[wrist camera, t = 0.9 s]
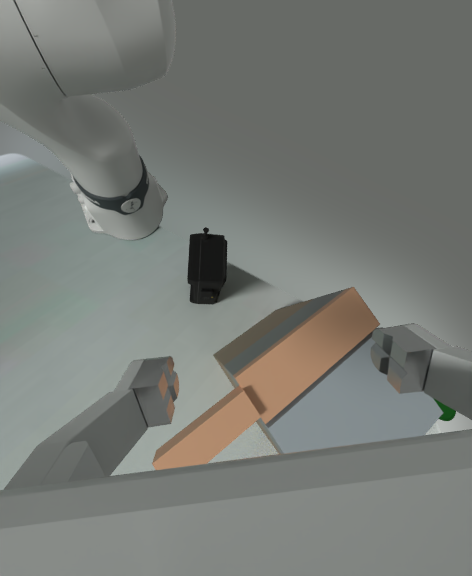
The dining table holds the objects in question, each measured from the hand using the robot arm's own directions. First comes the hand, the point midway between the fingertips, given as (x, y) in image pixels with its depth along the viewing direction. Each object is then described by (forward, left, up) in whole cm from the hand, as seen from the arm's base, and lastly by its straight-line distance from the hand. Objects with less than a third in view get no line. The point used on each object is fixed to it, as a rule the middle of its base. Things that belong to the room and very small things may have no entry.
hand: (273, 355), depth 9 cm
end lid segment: (+6, +3, -17) cm, 18 cm away
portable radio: (-9, +5, -43) cm, 44 cm away
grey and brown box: (+13, +8, -43) cm, 45 cm away
